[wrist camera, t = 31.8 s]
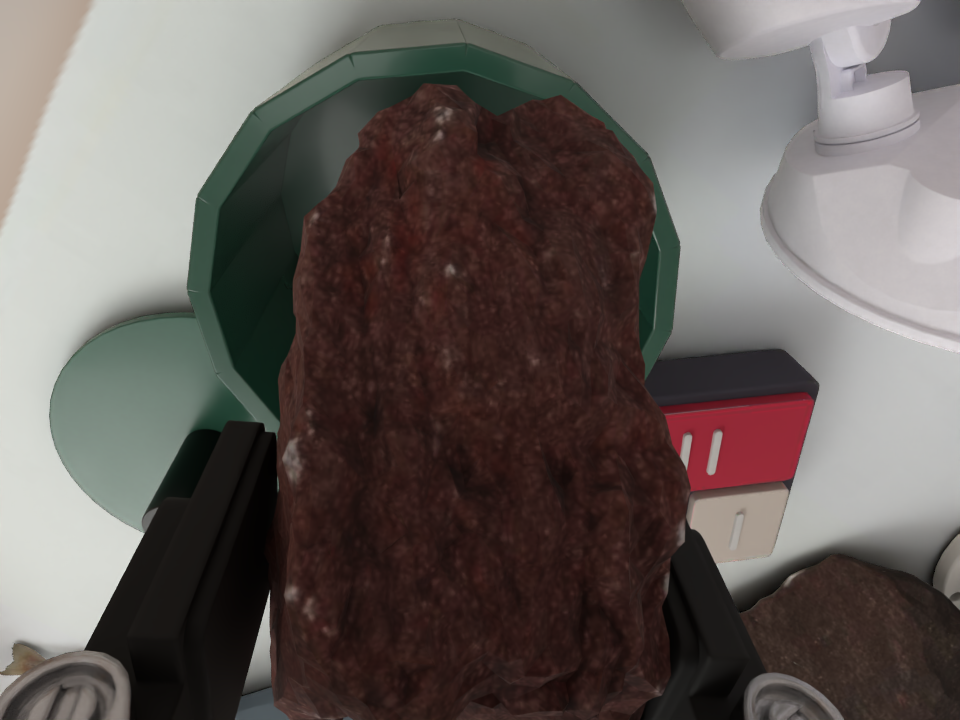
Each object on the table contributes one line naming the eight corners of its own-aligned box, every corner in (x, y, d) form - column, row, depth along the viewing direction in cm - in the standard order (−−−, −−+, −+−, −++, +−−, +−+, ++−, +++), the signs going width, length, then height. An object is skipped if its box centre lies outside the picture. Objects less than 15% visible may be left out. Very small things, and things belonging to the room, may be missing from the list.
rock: (837, 142, 9) (528, 252, 16) (409, -98, 6) (270, 167, 13) (747, 1021, 7) (455, 705, 14) (141, 1248, 5) (151, 718, 12)
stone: (1016, 853, 37) (586, 809, 43) (946, 702, 45) (588, 682, 50) (1117, 692, 29) (563, 663, 34) (1010, 538, 36) (569, 535, 42)
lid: (244, 251, 26) (196, 319, 21) (414, 475, 33) (410, 569, 28) (-9, 387, 29) (-107, 478, 24) (197, 569, 36) (155, 670, 30)
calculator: (781, 565, 33) (493, 602, 32) (742, 506, 36) (483, 536, 35) (833, 389, 27) (483, 426, 26) (781, 340, 31) (473, 370, 30)
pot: (518, -58, 21) (568, -78, 13) (645, 267, 28) (732, 389, 19) (198, 132, 24) (73, 215, 15) (383, 389, 30) (363, 542, 22)
